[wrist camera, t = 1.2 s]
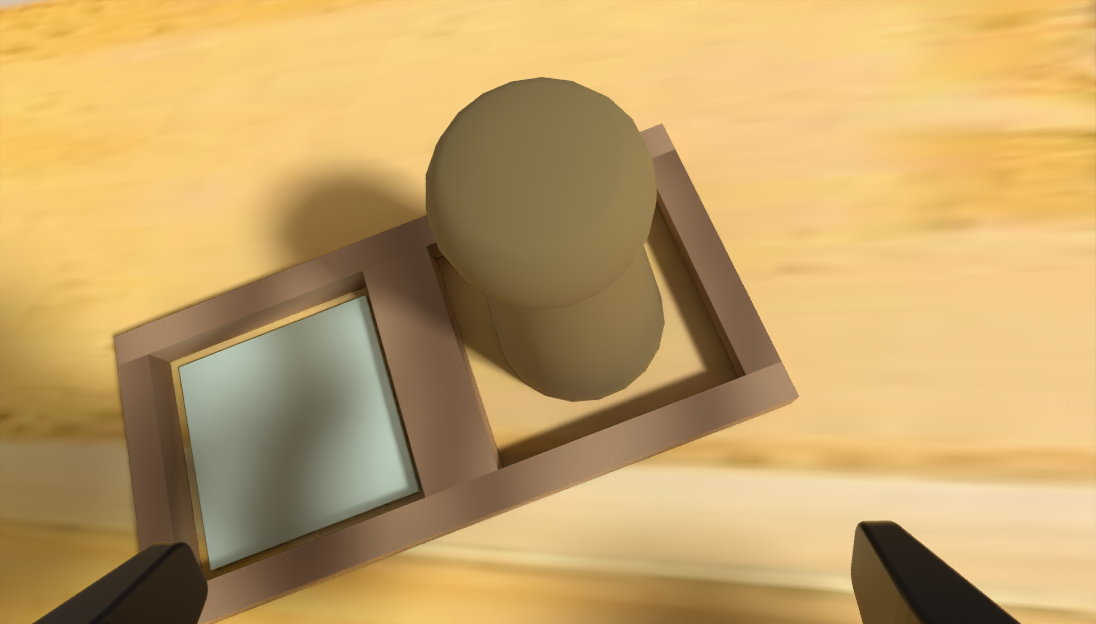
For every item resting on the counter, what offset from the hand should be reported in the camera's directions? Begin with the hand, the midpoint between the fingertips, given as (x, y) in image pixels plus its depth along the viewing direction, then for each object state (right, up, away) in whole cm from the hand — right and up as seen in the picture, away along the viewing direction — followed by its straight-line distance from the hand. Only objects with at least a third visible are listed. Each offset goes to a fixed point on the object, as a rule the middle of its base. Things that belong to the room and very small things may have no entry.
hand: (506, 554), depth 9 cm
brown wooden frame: (-3, +1, +15) cm, 15 cm away
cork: (+2, +3, +15) cm, 15 cm away
